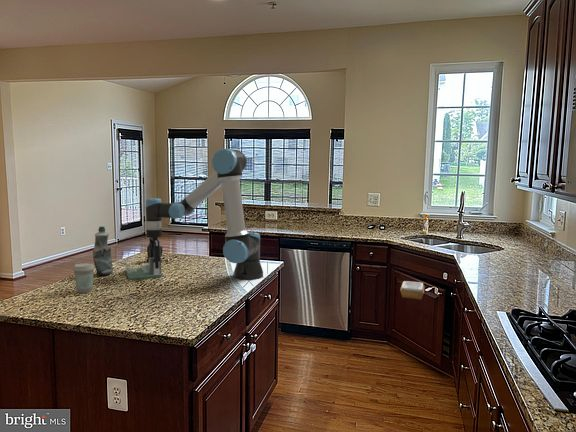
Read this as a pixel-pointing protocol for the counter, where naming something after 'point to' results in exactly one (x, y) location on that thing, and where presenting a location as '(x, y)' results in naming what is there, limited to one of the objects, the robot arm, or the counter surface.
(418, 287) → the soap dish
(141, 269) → the translucent green tray
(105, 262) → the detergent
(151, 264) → the plug
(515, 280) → the counter surface
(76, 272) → the coffee cup
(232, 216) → the robot arm
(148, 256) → the mug
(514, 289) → the counter surface
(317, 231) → the counter surface
